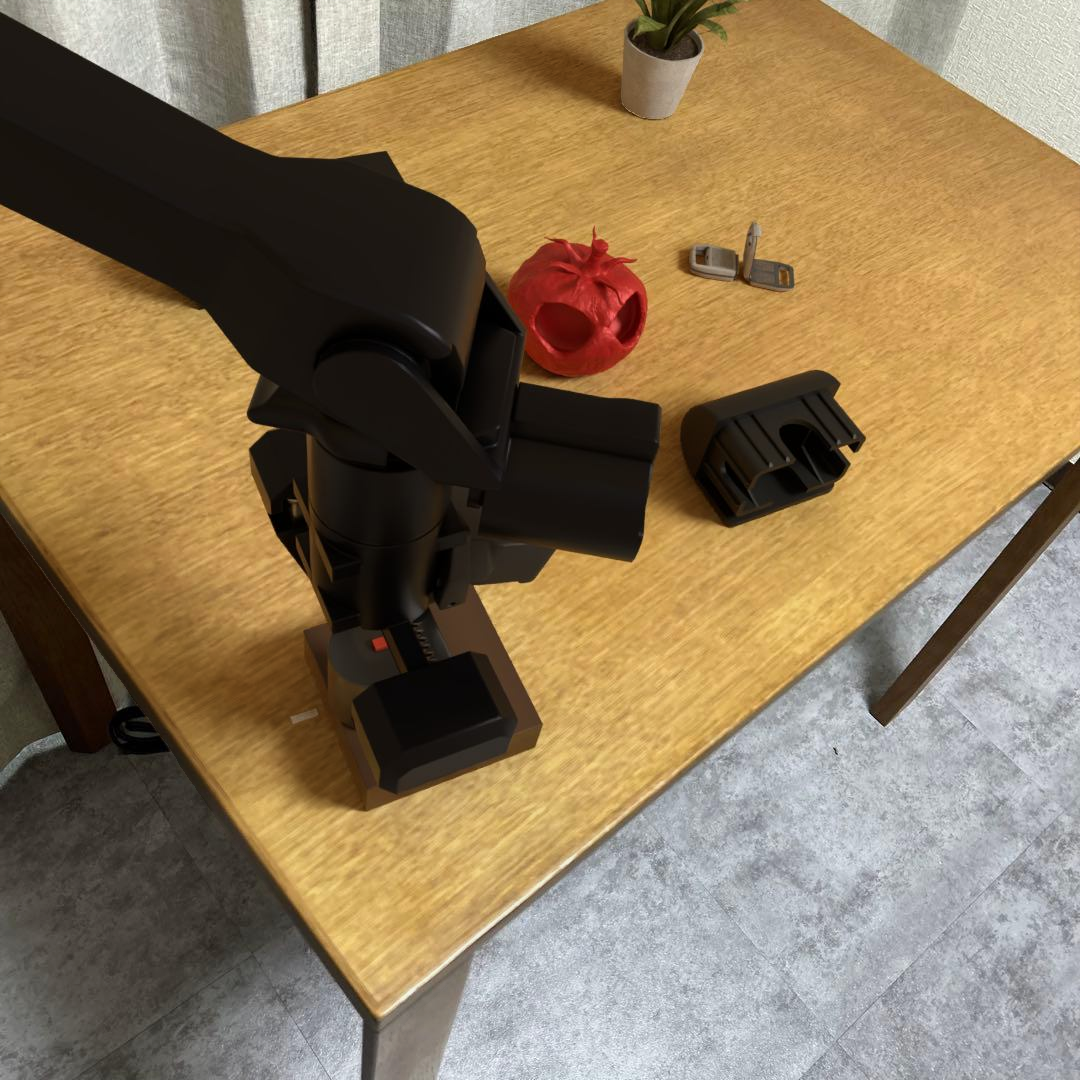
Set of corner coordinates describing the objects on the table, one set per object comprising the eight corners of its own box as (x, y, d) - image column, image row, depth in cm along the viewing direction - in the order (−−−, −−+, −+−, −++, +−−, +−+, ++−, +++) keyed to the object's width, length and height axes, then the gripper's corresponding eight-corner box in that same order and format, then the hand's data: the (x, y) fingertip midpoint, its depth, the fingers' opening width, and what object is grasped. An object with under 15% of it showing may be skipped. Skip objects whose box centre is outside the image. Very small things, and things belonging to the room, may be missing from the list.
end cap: (782, 416, 80) (815, 349, 74) (840, 489, 77) (878, 425, 71) (667, 454, 76) (692, 386, 71) (721, 532, 73) (753, 468, 67)
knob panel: (324, 828, 58) (323, 805, 55) (264, 669, 62) (261, 640, 60) (535, 747, 62) (544, 723, 59) (465, 604, 67) (470, 576, 64)
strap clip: (687, 275, 87) (702, 232, 84) (688, 250, 89) (702, 207, 86) (792, 294, 88) (811, 253, 84) (791, 269, 90) (809, 227, 86)
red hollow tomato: (487, 299, 82) (502, 196, 75) (614, 291, 85) (641, 191, 77) (519, 399, 77) (539, 299, 69) (653, 387, 80) (686, 289, 72)
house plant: (691, 182, 94) (750, -4, 81) (546, 121, 96) (580, -70, 83) (744, 103, 102) (805, -78, 89) (609, 48, 104) (650, -137, 91)
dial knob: (344, 743, 57) (345, 696, 53) (316, 672, 59) (315, 622, 55) (423, 715, 59) (430, 667, 54) (393, 647, 61) (398, 596, 56)
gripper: (662, 616, 43) (587, 776, 56) (471, 294, 52) (444, 496, 64) (392, 710, 39) (377, 860, 52) (235, 344, 48) (255, 548, 60)
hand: (369, 672), depth 57 cm, fingers open, 9 cm apart
